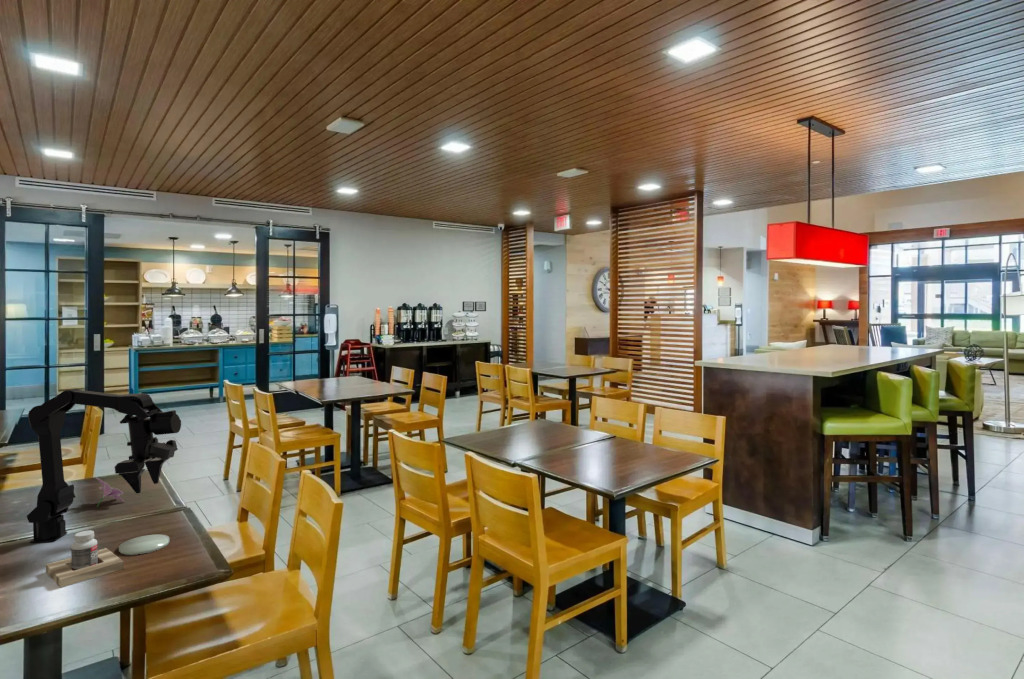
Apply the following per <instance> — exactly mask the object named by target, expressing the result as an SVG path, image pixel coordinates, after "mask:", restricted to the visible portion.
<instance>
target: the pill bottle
mask: <svg viewBox="0 0 1024 679" xmlns="http://www.w3.org/2000/svg"><path fill="white" fill-rule="evenodd" d="M98 547H99V546H98V540H97V539H96V538H95V532H94V530H84V531H79V532H77V533H75V534H74V542H73V543H72V544H71V548H70V550H71V553H70V554H71V557H70V558H71V561H72V562H71V564H72V570H73V571H75V570H78V569H82V568H85V567H89V566H92V565H96V564H98V550H99V548H98Z"/></svg>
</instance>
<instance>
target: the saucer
mask: <svg viewBox="0 0 1024 679" xmlns="http://www.w3.org/2000/svg"><path fill="white" fill-rule="evenodd" d="M169 544H170V536H168V535H166V534H148V535H146V534H145V535H141V536H137V537H134V538H130V539H127V540H126V541H124V542H122V543H121V544H119V546H118V553H119V552H120V553H121V554H120V553H119V554H120V555H123V554H124V555H123V556H138V554H140V555H144V554H145V553H146V554H150V553H153V551H154V552H156V550H157V551H159V550H162V549H164V548H165V547H166V546H168V545H169ZM161 548H162V549H161Z"/></svg>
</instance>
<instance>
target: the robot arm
mask: <svg viewBox="0 0 1024 679" xmlns="http://www.w3.org/2000/svg"><path fill="white" fill-rule="evenodd" d="M76 405H82V406H90V407H97V408H105V409H106V408H107V409H111V410H115V411H117V412H118V413H120V414H124V415H125V416H124V417H123V418H122V419H121V420H120V421H119V424H127V425H128V431H129V432H128V433H129V434H128V435H129V441H128V442H126V446H127V447H130V452H131V454H130V455H129V456H128V459H126V460H125V459H124V460H122V461H120V462H117V463H116V464H115V465H114V473H115V474H116V475H118V476H121V477H122V478H123V479H124V481H126V483H128V485H129V486H130V487H131V488H132V490H133V492H134V493H135V494H141V491H142V475H143V473H144V472H145V470H146V469H147V471H148V474H149V476H150V479H151V481H152V483H153V484H154V485H156V484H159V481H160V476H161V472H162V468H163V465H164V464H165V463H166V461H169V459H171V458H174V456H175V453H176V451H178V450H179V449H178V444H177V441H176V440H174V439H169V440H167V441H166V442H159V439H158V438H157V436H160V435H169V434H170V435H171V434H172V435H173V434H178V433H179V432H180V430H181V428H182V420H181V419H180V416H179V414H177V412H176V410H175V409H172V410H169V411H163V410H162V409H161V408H160V407H159V406H157V404H156V403H155V402H154V401H153V398H152V397H151V395H150V394H147V393H145V392H144V393H142V392H139V393H124V394H117V393H110V392H109V393H108V392H101V391H91V390H83V389H79V388H70V389H66V390H65V389H64V390H63V391H62V392H60V393H58V395H55V396H54V397H53V398H51V399H49V400H47V401H45V402H43V403H42V404H40V405H39V404H38V405H35V406H33V407H32V408H31V409H30V410H28V415H27V416H28V418H27V419H28V422H29V425H30V428H31V430H33V432H34V433H36V435H37V438H38V448H39V457H40V458H39V460H40V469H41V480H42V481H41V482H42V486H41V487H40V489H39V492H38V494H37V497H36V498H37V499H36V507H35V508H33V509H32V510H31V511H30V512H29V513H28V514H27V515H26V519H27V522H28V523H29V524H30V523H31V524H32V529H33V530H32V531H33V532H32V533H33V534H32V536H33V537H32V539H31V540H29V544H30V543H33V544H34V543H46V542H48V543H49V542H56V541H57V540H60V539H61V538H62V537H64V536H65V535H67V534H68V531H67V530H66V528H67V526H66V519H64V517H65V516H64V514H66V513H67V512H68V510H69V508H70V507H71V505H72V504H73V503H74V499H75V498H77V497H76V495H75V484H68V483H67V481H66V480H65V476H64V473H65V472H64V463H63V453H62V452H63V450H62V442H61V431H62V429H63V427H64V425H65V423H66V413H68V412H69V411H70V410H72V409H73V408H74V407H75V406H76ZM154 435H155V436H156V437H154ZM145 467H146V468H145Z"/></svg>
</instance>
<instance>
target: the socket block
mask: <svg viewBox="0 0 1024 679" xmlns="http://www.w3.org/2000/svg"><path fill="white" fill-rule="evenodd" d="M71 558H72V557H69V558H65V559H64V558H63V559H62V560H57V561H54V562H50V563H47V564H45V572H46V574H47V576H49V577H50V578H51V579H52V580H53V581H54V582H55V583H56V585H57V586H58V587H59V588H60V589H62V588H65V587H68V586H71V585H74V584H78V583H80V582H84V581H87V580H91V579H94V578H97V577H101V576H105V575H108V574H111V573H114V572H118V571H121V570H124V560H123V559H121V558H120V557H119V556H117V555H116V554H115V553H113V552H112V551H111V550H109V548H107V547H104V548H101V549H98V564H96V565H92V566H89V567H85V568H82V569H78V570H75V571H73V570H72V564H71V562H72V561H71Z"/></svg>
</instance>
